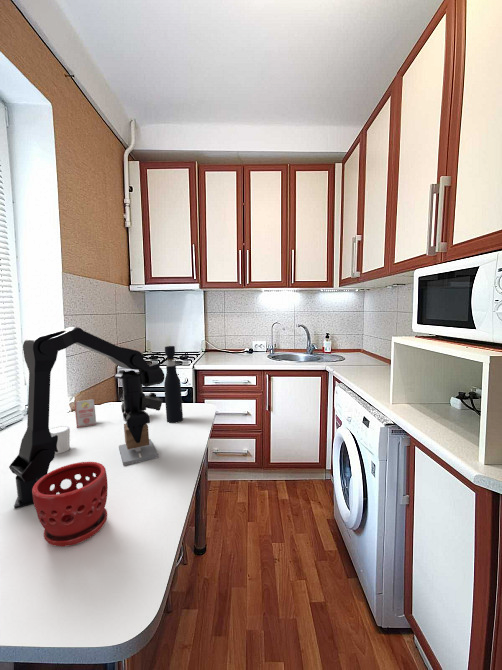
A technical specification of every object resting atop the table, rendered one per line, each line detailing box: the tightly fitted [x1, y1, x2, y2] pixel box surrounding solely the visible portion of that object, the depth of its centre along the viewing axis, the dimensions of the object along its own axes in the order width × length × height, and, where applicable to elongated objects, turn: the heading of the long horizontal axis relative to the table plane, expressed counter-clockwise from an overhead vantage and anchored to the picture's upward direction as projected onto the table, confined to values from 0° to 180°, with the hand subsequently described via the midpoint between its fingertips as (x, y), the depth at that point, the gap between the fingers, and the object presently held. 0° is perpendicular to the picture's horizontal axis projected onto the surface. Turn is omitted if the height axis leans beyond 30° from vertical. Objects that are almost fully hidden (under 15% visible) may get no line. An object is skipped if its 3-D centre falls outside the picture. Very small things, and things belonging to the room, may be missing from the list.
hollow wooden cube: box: [123, 423, 150, 449], centre depth 104 cm, size 6×6×6 cm
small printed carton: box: [74, 398, 97, 428], centre depth 134 cm, size 4×7×10 cm, turn 112°
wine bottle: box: [163, 345, 184, 424], centre depth 132 cm, size 6×6×30 cm
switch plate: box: [118, 438, 159, 466], centre depth 104 cm, size 14×10×6 cm
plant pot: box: [32, 461, 109, 548], centre depth 67 cm, size 13×13×12 cm
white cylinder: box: [49, 425, 71, 455], centre depth 110 cm, size 7×7×7 cm
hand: (136, 439), depth 104 cm, fingers closed on hollow wooden cube, 6 cm apart
